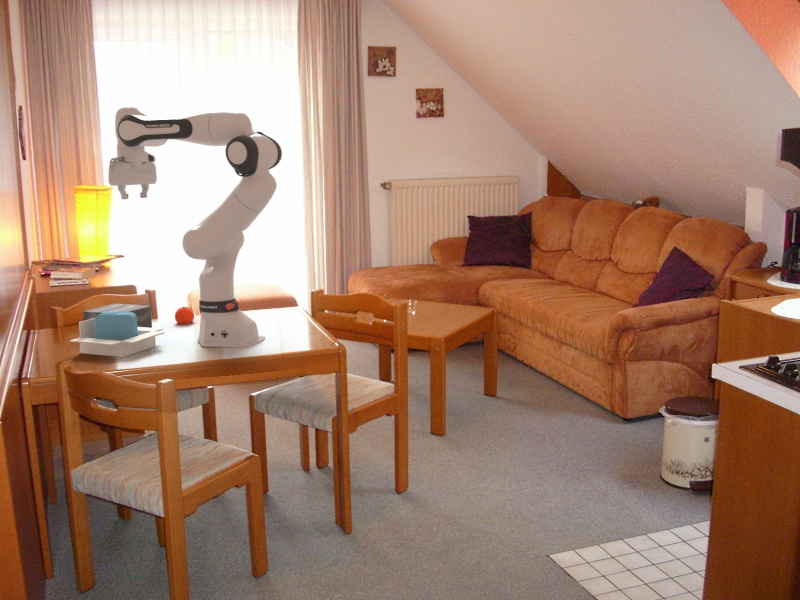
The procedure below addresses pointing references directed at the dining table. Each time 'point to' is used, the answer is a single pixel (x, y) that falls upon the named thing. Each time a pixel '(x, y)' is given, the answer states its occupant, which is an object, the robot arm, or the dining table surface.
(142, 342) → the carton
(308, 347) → the dining table surface
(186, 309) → the clementine
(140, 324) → the riser
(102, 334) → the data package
